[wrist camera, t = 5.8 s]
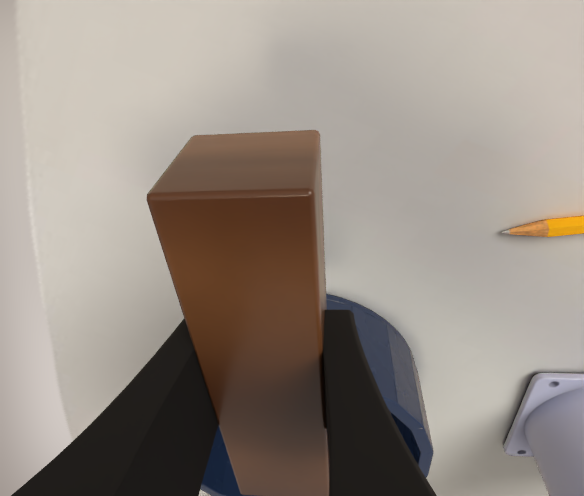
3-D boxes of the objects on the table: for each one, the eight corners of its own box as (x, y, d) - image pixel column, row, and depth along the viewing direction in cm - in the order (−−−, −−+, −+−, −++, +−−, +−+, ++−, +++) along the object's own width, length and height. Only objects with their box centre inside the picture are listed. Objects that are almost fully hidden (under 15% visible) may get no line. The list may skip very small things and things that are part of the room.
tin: (428, 289, 20) (452, 375, 16) (404, 441, 28) (416, 524, 24) (159, 289, 21) (119, 368, 17) (209, 433, 29) (189, 510, 25)
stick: (191, 133, 8) (142, 196, 6) (320, 128, 8) (314, 190, 6) (254, 414, 14) (239, 496, 12) (331, 416, 14) (330, 500, 12)
